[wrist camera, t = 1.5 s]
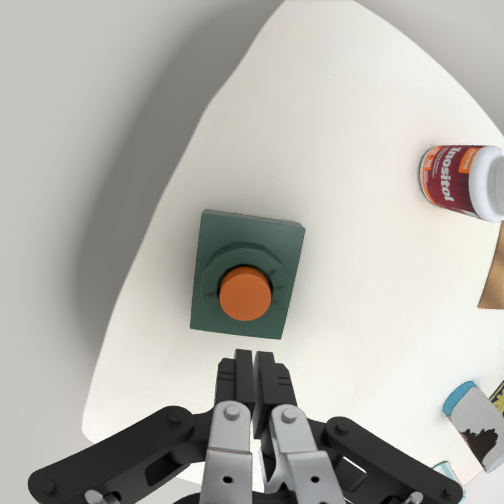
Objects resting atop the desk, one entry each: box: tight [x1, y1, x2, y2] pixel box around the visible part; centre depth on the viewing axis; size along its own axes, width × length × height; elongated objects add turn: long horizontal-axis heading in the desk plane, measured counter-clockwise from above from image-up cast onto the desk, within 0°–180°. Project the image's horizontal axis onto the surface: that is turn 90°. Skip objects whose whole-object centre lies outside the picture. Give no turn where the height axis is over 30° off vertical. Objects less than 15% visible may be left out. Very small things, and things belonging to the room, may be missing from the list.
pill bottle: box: [420, 145, 504, 223], centre depth 19 cm, size 6×6×11 cm
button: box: [220, 267, 271, 321], centre depth 21 cm, size 4×4×2 cm
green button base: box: [190, 209, 305, 340], centre depth 24 cm, size 10×8×4 cm
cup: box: [443, 381, 504, 473], centre depth 26 cm, size 7×7×15 cm
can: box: [432, 463, 466, 504], centre depth 35 cm, size 7×7×12 cm
